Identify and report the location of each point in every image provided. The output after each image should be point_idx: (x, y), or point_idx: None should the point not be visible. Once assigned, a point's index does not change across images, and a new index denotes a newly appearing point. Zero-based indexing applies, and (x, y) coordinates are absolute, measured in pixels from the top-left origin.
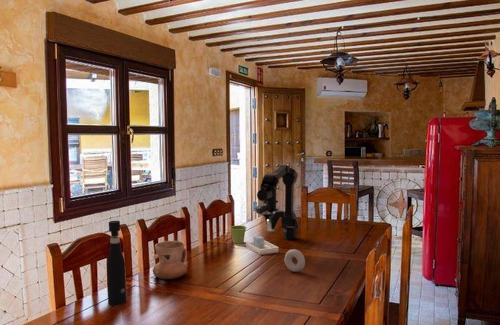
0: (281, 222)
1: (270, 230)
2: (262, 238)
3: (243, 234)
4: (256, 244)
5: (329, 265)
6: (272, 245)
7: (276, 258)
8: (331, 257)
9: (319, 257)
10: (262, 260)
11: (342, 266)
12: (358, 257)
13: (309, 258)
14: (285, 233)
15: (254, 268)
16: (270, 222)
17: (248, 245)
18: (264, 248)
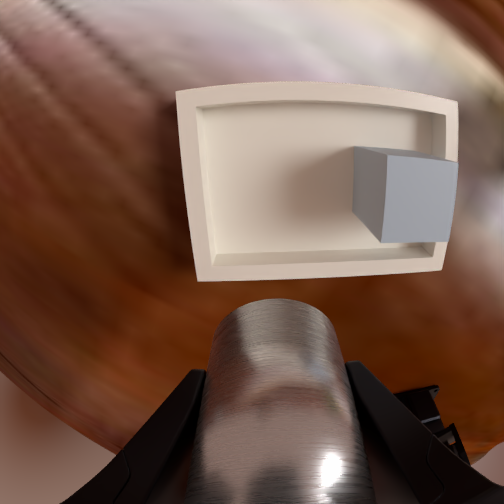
0: (462, 447)
1: (216, 335)
2: (379, 223)
3: None
4: (376, 148)
5: (6, 335)
6: (275, 264)
7: (81, 187)
8: (77, 393)
9: (77, 369)
10: (76, 85)
11: (5, 355)
12: (80, 429)
13: (65, 335)
14: (422, 412)
15: (9, 33)
16: (194, 468)
17: (411, 93)
18: (310, 194)
